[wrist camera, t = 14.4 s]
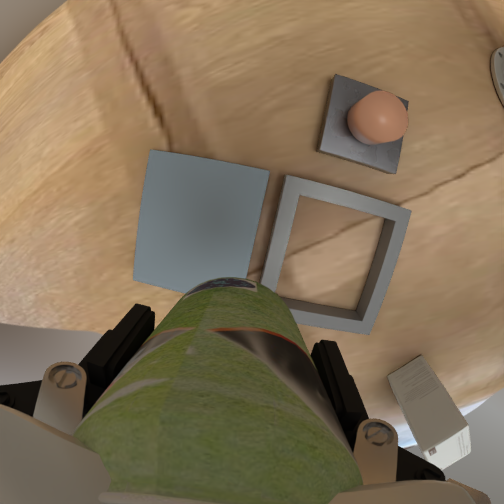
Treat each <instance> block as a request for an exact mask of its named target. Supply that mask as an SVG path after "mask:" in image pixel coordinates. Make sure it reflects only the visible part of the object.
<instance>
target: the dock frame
mask: <svg viewBox="0 0 504 504" xmlns="http://www.w3.org/2000/svg"><path fill="white" fill-rule="evenodd" d="M299 195H302V196H307V197H311V198H315V199H318V200H322V201H326V202H330V203H334V204H338V205H341V206H345V207H349V208H352V209H356V210H359V211H363V212H366V213H370V214H373V215H377V216H380V217H383V218H386V219H385V222H384V226H383V230H382V233H381V237H380V240H379V243H378V247H377V250H376V253H375V257H374V260H373V263H372V266H371V269H370V272H369V275H368V278H367V281H366V284H365V287H364V290H363V293H362V296H361V298H360V301H359V304H358V307H357V309H356V311H353V310H347V309H341V308H336V307H330V306H325V305H320V304H314V303H309V302H304V301H299V300H293V299H288V298H283V297H280V298H281V299H282V300H283V301H284V302H285V303H286V305H287V307H288V308H289V310H290V311H291V313H292V315H293V317H294V320H295V322H296V323H297V324H303V325H309V326H314V327H320V328H326V329H333V330H339V331H346V332H352V333H359V334H366V335H369V334H370V332H371V330H372V327H373V325H374V322H375V320H376V317H377V315H378V312H379V310H380V307H381V305H382V302H383V300H384V297H385V294H386V291H387V289H388V286H389V283H390V280H391V277H392V274H393V272H394V269H395V266H396V262H397V259H398V256H399V253H400V250H401V247H402V243H403V240H404V236H405V233H406V229H407V226H408V222H409V219H410V215H411V210H408V209H405V208H402V207H399V206H396V205H393V204H390V203H387V202H384V201H381V200H377V199H374V198H371V197H368V196H364V195H361V194H358V193H354V192H351V191H347V190H344V189H340V188H337V187H333V186H329V185H326V184H322V183H318V182H314V181H310V180H306V179H303V178H298V177H294V176H290V175H285V176H284V180H283V185H282V189H281V193H280V198H279V202H278V206H277V211H276V215H275V219H274V223H273V228H272V232H271V236H270V240H269V245H268V249H267V253H266V257H265V261H264V266H263V270H262V274H261V278H260V282H259V283H260V284H262V285H264V286H266V287H268V288H269V289H270V290H272V291H273V292H274V293H275V290H276V287H277V283H278V279H279V275H280V271H281V267H282V264H283V260H284V256H285V252H286V248H287V244H288V240H289V236H290V232H291V228H292V224H293V220H294V216H295V211H296V207H297V203H298V199H299Z"/></svg>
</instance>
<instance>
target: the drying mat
mask: <svg viewBox="0 0 504 504" xmlns="http://www.w3.org/2000/svg"><path fill="white" fill-rule="evenodd" d="M269 173H270V171H268V170H263V169H259V168H254V167H249V166H244V165H239V164H234V163H229V162H224V161H219V160H213V159H208V158H202V157H196V156H190V155H184V154H178V153H171V152H165V151H157V150H150V154H149V159H148V164H147V170H146V175H145V181H144V187H143V194H142V200H141V207H140V215H139V223H138V231H137V240H136V250H135V261H134V273H133V280H135V281H138V282H142V283H146V284H150V285H154V286H158V287H162V288H166V289H170V290H174V291H178V292H182V293H187V292H188V291H189V290H191V289H192V288H194V287H196V286H197V285H199V284H201V283H204V282H206V281H208V280H212V279H217V278H223V277H237V278H244V279H246V276H247V271H248V267H249V262H250V258H251V254H252V249H253V245H254V240H255V236H256V231H257V227H258V222H259V218H260V213H261V209H262V205H263V200H264V196H265V191H266V187H267V182H268V178H269Z"/></svg>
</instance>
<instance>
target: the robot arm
mask: <svg viewBox="0 0 504 504" xmlns="http://www.w3.org/2000/svg"><path fill="white" fill-rule="evenodd" d="M491 72H492V78H493V81H494V85H495V88H496V91H497V93H498V96H499V98H500V100H501V102H502V104H503V106H504V47H501V48H498V49H496V50H495V51H494V52H493V54H492V57H491ZM154 325H155V312H153V311H151V308H150V307H149V306H145V305H141V304H135V305H134V306H133V307H132V309H131V310H130V311H129V312H128V313H127V314H126V315H125V316H124V318H123V319H122V320H121V321H120V322H119V323H118V325H117V326H116V327H115V328H114V329H113V330H108V331H107V332H106V333H105V334H104V335H103V336H102V337H101V339H100V340H99V341H98V342H97V343H96V344H95V346H94V347H93V348H92V349H91V350H90V351H89V353H88V354H87V355H86V356H85V357H84V358H83V360H82V361H81V362H80V363H79V364H78V365H77V364H75V363H71V362H58V363H55V364H53V365H51V366H50V367H49V368H47V369H46V371H45V374H44V377H43V380H40V381H33V382H25V383H18V384H9V385H1V386H0V504H105V503H102V502H100V501H99V499H98V498H99V495H100V494H101V493H102V492H106V491H107V490H108V489H109V486H110V483H111V478H110V475H109V473H108V471H107V470H106V468H105V466H104V464H103V462H102V460H101V458H100V455H99V454H98V453H96V452H95V451H93V450H92V449H91V448H89V447H88V446H86V445H85V444H84V443H82V442H81V441H80V440H79V439H77V438H75V437H73V436H72V434H73V433H74V431H75V429H76V427H77V426H78V425H79V424H80V422H81V421H82V420H83V418H84V417H85V416H86V414H87V413H88V412H89V411H90V409H91V408H92V407H93V406H94V404H95V403H96V402H97V400H98V399H99V398H100V397H101V395H102V394H103V393H104V392H105V390H106V389H107V388H108V387H109V385H110V384H111V383H112V382H113V380H114V379H115V378H116V377H117V375H118V374H119V373H120V372H121V370H122V369H123V368H124V367H125V365H126V364H127V363H128V362H129V360H130V359H131V358H132V357H133V356H134V354H135V353H136V352H137V351H138V349H139V348H140V347H141V346H142V344H143V343H144V342H145V341H146V340H147V338H148V337H149V336H150V335H151V334H152V332H153V331H154ZM310 356H311V358H312V360H313V362H314V365H315V367H316V369H317V372H318V374H319V376H320V378H321V381H322V383H323V385H324V388H325V390H326V392H327V394H328V397H329V399H330V401H331V404H332V406H333V408H334V411H335V413H336V415H337V417H338V420H339V422H340V424H341V427H342V429H343V431H344V434H345V436H346V438H347V441H348V443H349V445H350V448H351V450H352V452H353V455H354V457H355V459H356V462H357V464H358V467H359V470H360V473H361V476H362V479H363V485H359V486H357V487H354V488H351V489H348V490H345V491H342V492H340V493H338V494H337V495H336V496H335V497H334V498H333V499H332V500H331V501H330V502H329V503H328V504H491V502H490V499H489V497H488V496H487V495H486V494H484V493H483V492H481V491H478V490H476V489H473V488H471V487H468V486H466V485H464V484H462V483H459V482H457V481H455V480H452V479H450V478H449V479H448V480H447V481H446V480H445V476H444V473H443V472H442V471H441V469H440V468H438V467H437V466H435V465H434V464H432V463H430V462H428V461H426V460H424V459H422V458H420V457H418V456H416V455H414V454H412V453H410V452H409V451H407V450H405V449H403V448H401V447H400V446H398V435H397V432H396V430H395V428H394V427H393V426H392V425H390V424H389V423H387V422H386V421H383V420H380V419H374V418H373V419H369V417H368V415H367V412H366V410H365V407H364V405H363V402H362V399H361V397H360V394H359V392H358V389H357V387H356V384H355V382H354V379H353V377H352V376H351V375H349V373H348V370H347V368H346V365H345V363H344V360H343V358H342V355H341V353H340V350H339V348H338V346H337V343H336V342H335V341H328V340H321V341H320V342H319V343H315V344H314V347H313V350H312V353H311V355H310Z"/></svg>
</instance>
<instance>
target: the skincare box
mask: <svg viewBox="0 0 504 504" xmlns="http://www.w3.org/2000/svg"><path fill="white" fill-rule="evenodd" d="M387 377H388V380H389V383H390V386H391V388H392V390H393V393H394V395H395V397H396V399H397V402H398V404H399V406H400V408H401V410H402V412H403V414H404V417H405V419H406V421H407V423H408V425H409V427H410V429H411V431H412V434H413V436H414V438H415V440H416V442H417V444H418V446H419V448H420V450H421V452H422V454H423V456H424V458H425V460H426V461H428V462H430V463H432V464H434V465H435V466H437V467H438V468H440V469H441V470H443V469H444V468H446V467H448V466H449V465H451V464H453V463H454V462H456V461H458V460H459V459H461V458H462V457H464V456H465V455H467V454H469V453H470V452H471V443H470V432H469V425H468V423H467V422H466V420H465V419H464V417H463V415H462V414H461V412H460V411H459V409H458V408H457V406H456V405H455V403H454V402H453V400H452V398H451V397H450V395H449V393H448V392H447V390H446V389H445V387H444V386H443V384H442V383H441V381H440V380H439V379H438V377H437V376H436V374H435V373H434V371H433V370H432V368H431V367H430V366H429V364H428V363H427V361H426V360H425V359H424V357H423V356H422V355H421V356H419V357H417V358H416V359H414V360H412V361H411V362H409V363H408V364H406V365H405V366H403V367H401V368H400V369H398V370H396V371H395V372H393V373H391V374H390V375H388V376H387Z"/></svg>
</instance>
